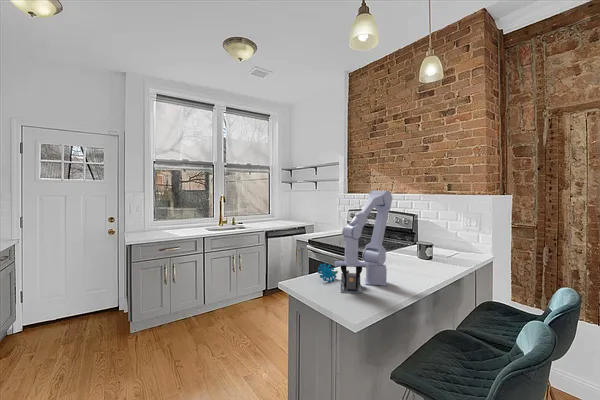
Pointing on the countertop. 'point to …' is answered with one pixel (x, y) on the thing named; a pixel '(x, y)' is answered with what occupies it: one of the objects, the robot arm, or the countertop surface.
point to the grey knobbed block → (351, 281)
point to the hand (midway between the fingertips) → (351, 283)
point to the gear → (327, 272)
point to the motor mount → (344, 290)
